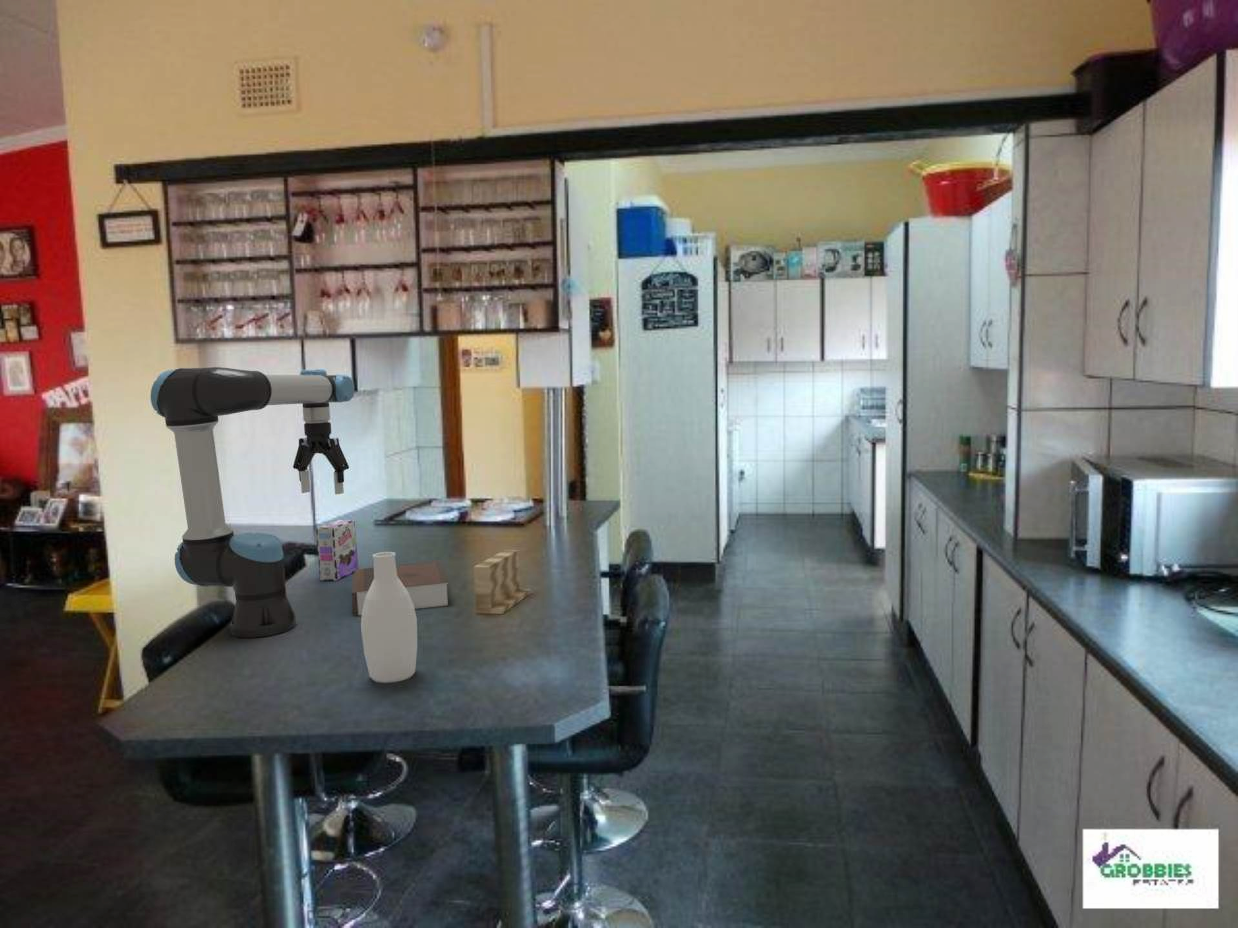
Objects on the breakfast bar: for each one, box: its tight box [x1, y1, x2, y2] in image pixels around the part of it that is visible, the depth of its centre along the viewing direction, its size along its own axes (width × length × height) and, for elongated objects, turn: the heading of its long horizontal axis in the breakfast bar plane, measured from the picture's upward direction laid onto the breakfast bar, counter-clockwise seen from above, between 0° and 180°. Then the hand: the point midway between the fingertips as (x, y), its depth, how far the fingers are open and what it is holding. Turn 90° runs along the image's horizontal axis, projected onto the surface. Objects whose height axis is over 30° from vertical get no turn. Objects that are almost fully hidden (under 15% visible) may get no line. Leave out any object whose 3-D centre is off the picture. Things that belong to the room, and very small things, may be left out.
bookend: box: [473, 549, 532, 615], centre depth 235 cm, size 20×7×12 cm, turn 164°
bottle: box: [360, 551, 418, 684], centre depth 182 cm, size 11×11×25 cm
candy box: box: [315, 519, 359, 582], centre depth 274 cm, size 14×6×16 cm, turn 168°
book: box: [351, 560, 450, 617], centre depth 246 cm, size 24×28×7 cm
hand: (322, 493), depth 266 cm, fingers open, 13 cm apart
